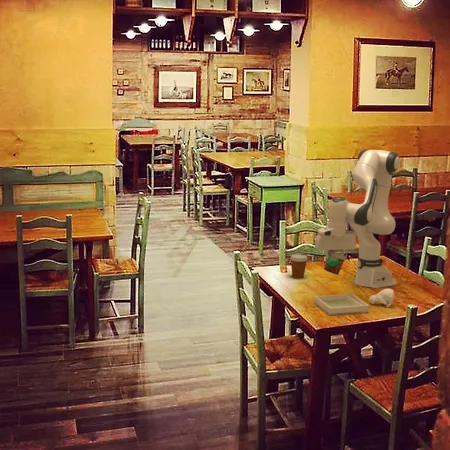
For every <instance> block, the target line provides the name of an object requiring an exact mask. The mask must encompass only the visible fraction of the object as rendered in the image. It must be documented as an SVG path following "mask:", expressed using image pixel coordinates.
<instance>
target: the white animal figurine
mask: <svg viewBox="0 0 450 450" xmlns="http://www.w3.org/2000/svg"><path fill="white" fill-rule="evenodd" d="M394 297H395V292H394V290H393V289H392V288H384V289H382V290H381V291H379V292H377V293H376V294H371V295H370V296H369V300H368V301H369V302H370V304H371V305H375V304H376V303H381V304H382V305H385V308H390V307H391V305H392V304H393V302H394Z"/></svg>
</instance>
